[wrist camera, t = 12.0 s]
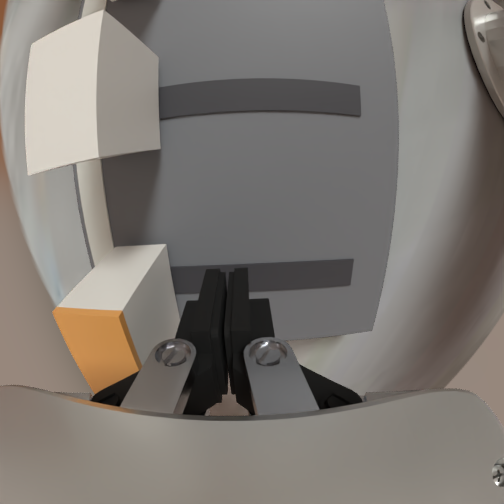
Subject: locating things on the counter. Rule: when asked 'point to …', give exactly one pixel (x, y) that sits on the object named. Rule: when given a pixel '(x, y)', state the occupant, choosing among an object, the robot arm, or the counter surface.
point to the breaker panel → (261, 155)
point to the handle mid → (90, 95)
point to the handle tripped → (119, 313)
